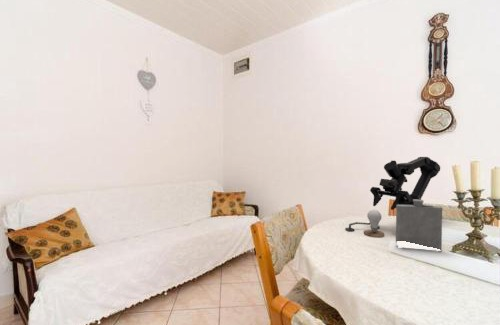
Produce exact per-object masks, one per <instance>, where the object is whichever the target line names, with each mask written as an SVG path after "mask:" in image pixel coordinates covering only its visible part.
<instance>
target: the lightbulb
mask: <svg viewBox="0 0 500 325" xmlns="http://www.w3.org/2000/svg"><path fill="white" fill-rule="evenodd" d="M366 217H367V219H368V221H369V223H370V228H371V229H370V230H371V231H372V232H374V233H375V232H377V231H378V229H377V228H378V226H379V223H380V222H381V220H382V214H381V212H380V211H379V210H376V209H370V210H369V211H368V212H367V215H366Z"/></svg>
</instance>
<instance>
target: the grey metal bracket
mask: <svg viewBox="0 0 500 325" xmlns="http://www.w3.org/2000/svg"><path fill="white" fill-rule="evenodd" d="M354 225H366V226H368V225H369V226H371V224H370V222H360V221H359V222H357V221H355V222H350V223H349V224H348V227H345V229H344V230H345V231H347V232H349V233H350V232H351V233H352V232H355V228H353V227H352V226H354ZM380 228H381V227H380V225H378V228H377V230H379V229H380Z"/></svg>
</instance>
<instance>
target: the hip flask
mask: <svg viewBox="0 0 500 325" xmlns="http://www.w3.org/2000/svg"><path fill="white" fill-rule="evenodd" d="M413 202H414V205H396V208H395V209H396V210H395V211H396V212H395V214H396V215H395V216H396V217H395V223H396V224H395V242H396V241H406V242H410V243H415V244H419V245H423V246H427V247H433V248H437V249H440V250H441V251H442V243H443V242H442V241H443V240H442V237H443V236H442V235H443V207H442V206H436V205H430V204H423V203H424V199H421V200H418V199H414V200H413Z"/></svg>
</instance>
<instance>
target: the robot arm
mask: <svg viewBox="0 0 500 325" xmlns="http://www.w3.org/2000/svg"><path fill="white" fill-rule="evenodd" d="M418 168H419V170H420V173H421V174H420V176H419V178H418V180H417V182H416V184H415V186H414V188H413V190H412V192H411V193H409V191H407V190H403V188H402V187H403V185H404V183H408V179H407V176H411V175H412V174H413V173H414V172H415V170H417V169H418ZM383 169H384V171H385V172H386V174H387V175H388V176H389V177H390V178H389V179H387V178H380V180H379V181H380V182H379V186H381V187H382V189H383V190H382V189H381V188H380V187H377V186H376V187H375V186H372V187H371V188H370V190H369V191H370V192H371V194H372V195H373V203H372V205H373V207H376V206H377V205H378V204H379V202H380V201H381V200H382V197H383V196H387V197H388V196H389V197H394V198H395V199H394V201H393V203H392V204H391V207H390V210H391V211H393V210H395V209H396V205H414V202H413V200H414V199H418V200H422V197H423V195H424V194H425V192H426V190H427V188H428V186H429V183H430V181H431V179H433V178H435V177H437V176H438V174H439V172H440V171H441V166H440V164H439V163H438V162H437V161H435V160H433V159H431V158H430V157H428V156H419V157H417V158H415V159H412V160H411V161H408V162H401V163H397V161H396V160H391V161H389V162H388V163H386V164H384V166H383ZM406 175H407V176H406Z"/></svg>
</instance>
